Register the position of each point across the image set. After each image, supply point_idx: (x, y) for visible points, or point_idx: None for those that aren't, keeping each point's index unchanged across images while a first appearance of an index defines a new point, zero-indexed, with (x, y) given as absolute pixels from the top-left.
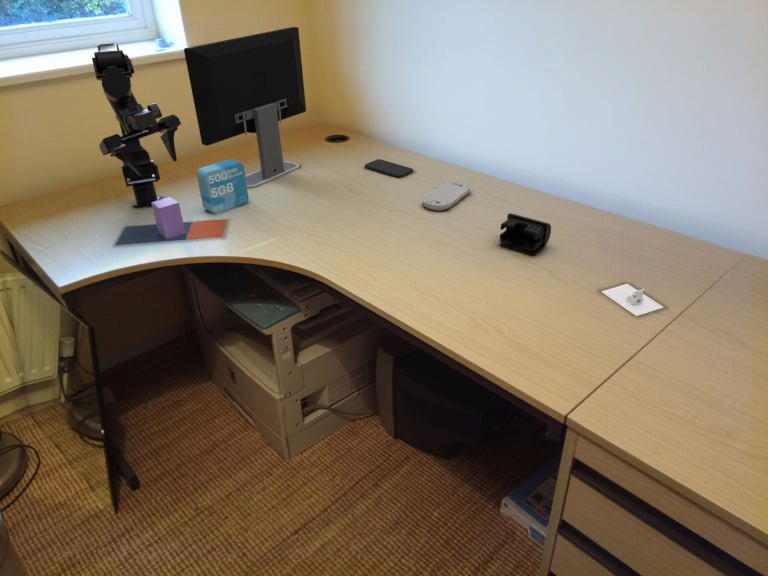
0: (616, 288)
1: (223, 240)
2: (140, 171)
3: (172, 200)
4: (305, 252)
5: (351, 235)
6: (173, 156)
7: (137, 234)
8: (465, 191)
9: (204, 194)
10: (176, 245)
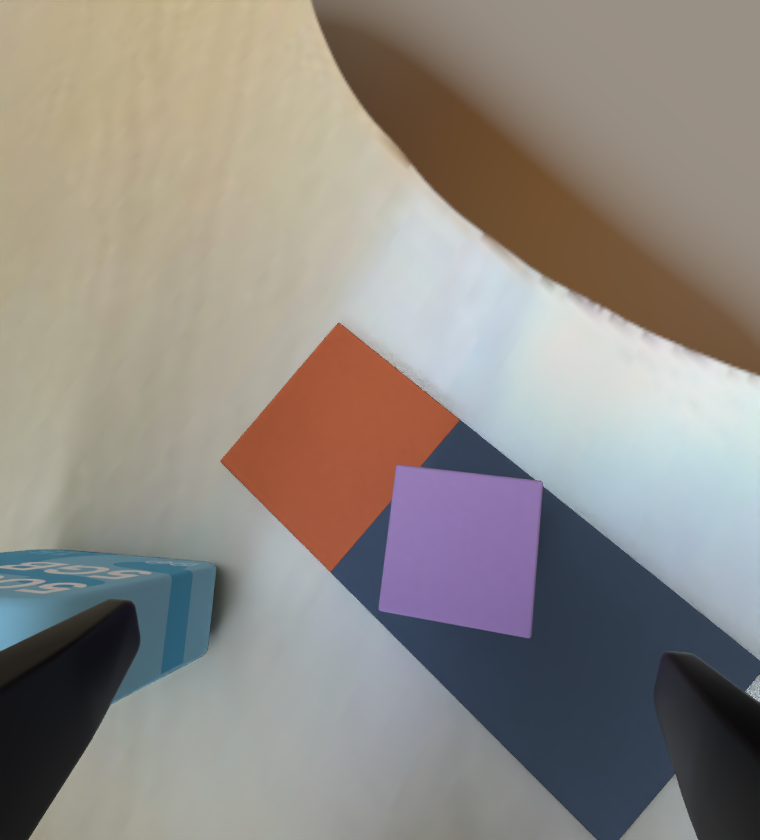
0: None
1: (350, 304)
2: (693, 673)
3: (405, 532)
4: (233, 35)
5: (73, 43)
6: (88, 633)
7: (606, 680)
8: None
9: (160, 626)
10: (515, 413)
